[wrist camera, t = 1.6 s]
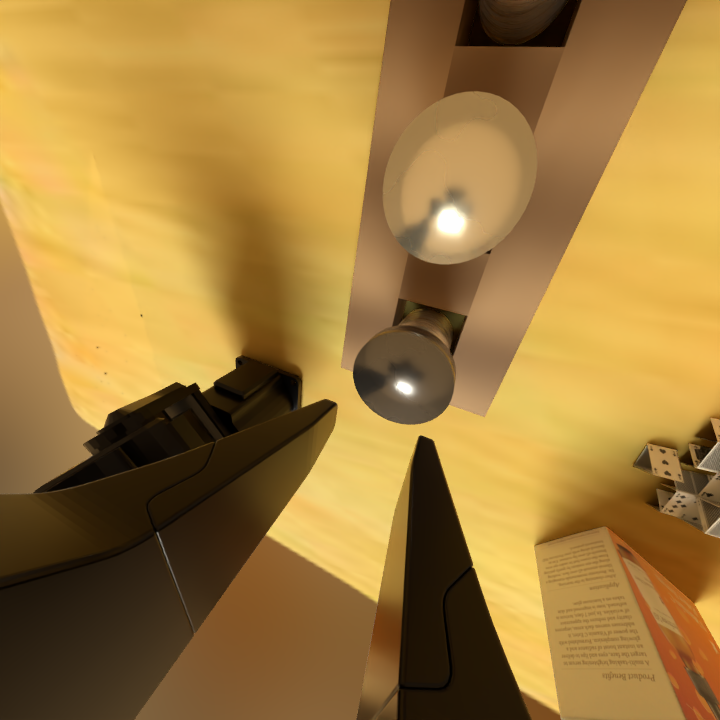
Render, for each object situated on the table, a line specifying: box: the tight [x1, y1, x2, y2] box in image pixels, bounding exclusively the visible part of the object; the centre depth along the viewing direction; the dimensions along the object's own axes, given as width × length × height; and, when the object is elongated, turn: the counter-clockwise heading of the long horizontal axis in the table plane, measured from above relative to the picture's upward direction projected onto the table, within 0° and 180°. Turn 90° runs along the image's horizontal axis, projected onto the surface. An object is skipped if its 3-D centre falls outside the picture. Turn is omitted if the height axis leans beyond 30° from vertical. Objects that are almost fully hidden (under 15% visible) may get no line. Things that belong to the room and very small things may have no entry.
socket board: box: [341, 0, 687, 417], centre depth 13 cm, size 20×9×4 cm, turn 171°
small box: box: [534, 526, 720, 720], centre depth 17 cm, size 8×6×10 cm
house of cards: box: [633, 418, 720, 538], centre depth 13 cm, size 9×9×8 cm
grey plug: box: [353, 308, 456, 424], centre depth 13 cm, size 4×4×6 cm
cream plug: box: [383, 91, 537, 264], centre depth 10 cm, size 4×4×6 cm
